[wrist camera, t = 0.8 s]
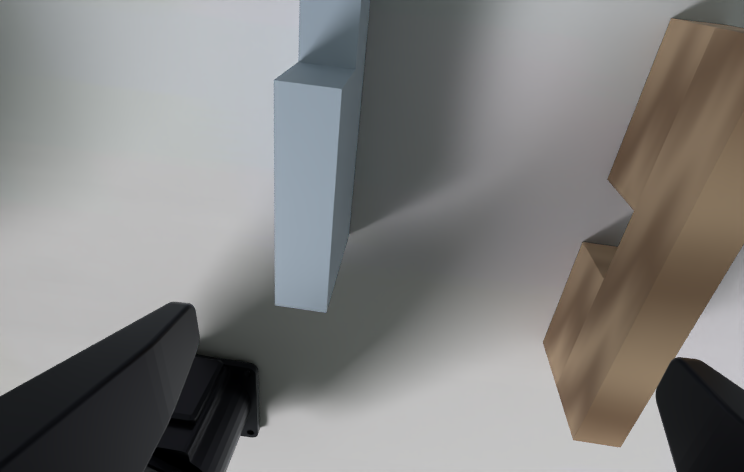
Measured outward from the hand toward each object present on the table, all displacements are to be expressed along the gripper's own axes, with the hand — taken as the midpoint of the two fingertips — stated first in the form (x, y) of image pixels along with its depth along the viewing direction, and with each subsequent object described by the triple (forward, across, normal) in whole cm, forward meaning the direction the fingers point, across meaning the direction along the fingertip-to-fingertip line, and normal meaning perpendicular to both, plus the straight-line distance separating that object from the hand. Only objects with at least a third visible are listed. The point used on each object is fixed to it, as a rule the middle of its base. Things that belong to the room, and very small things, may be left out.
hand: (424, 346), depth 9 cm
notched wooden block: (+13, -9, +3) cm, 16 cm away
